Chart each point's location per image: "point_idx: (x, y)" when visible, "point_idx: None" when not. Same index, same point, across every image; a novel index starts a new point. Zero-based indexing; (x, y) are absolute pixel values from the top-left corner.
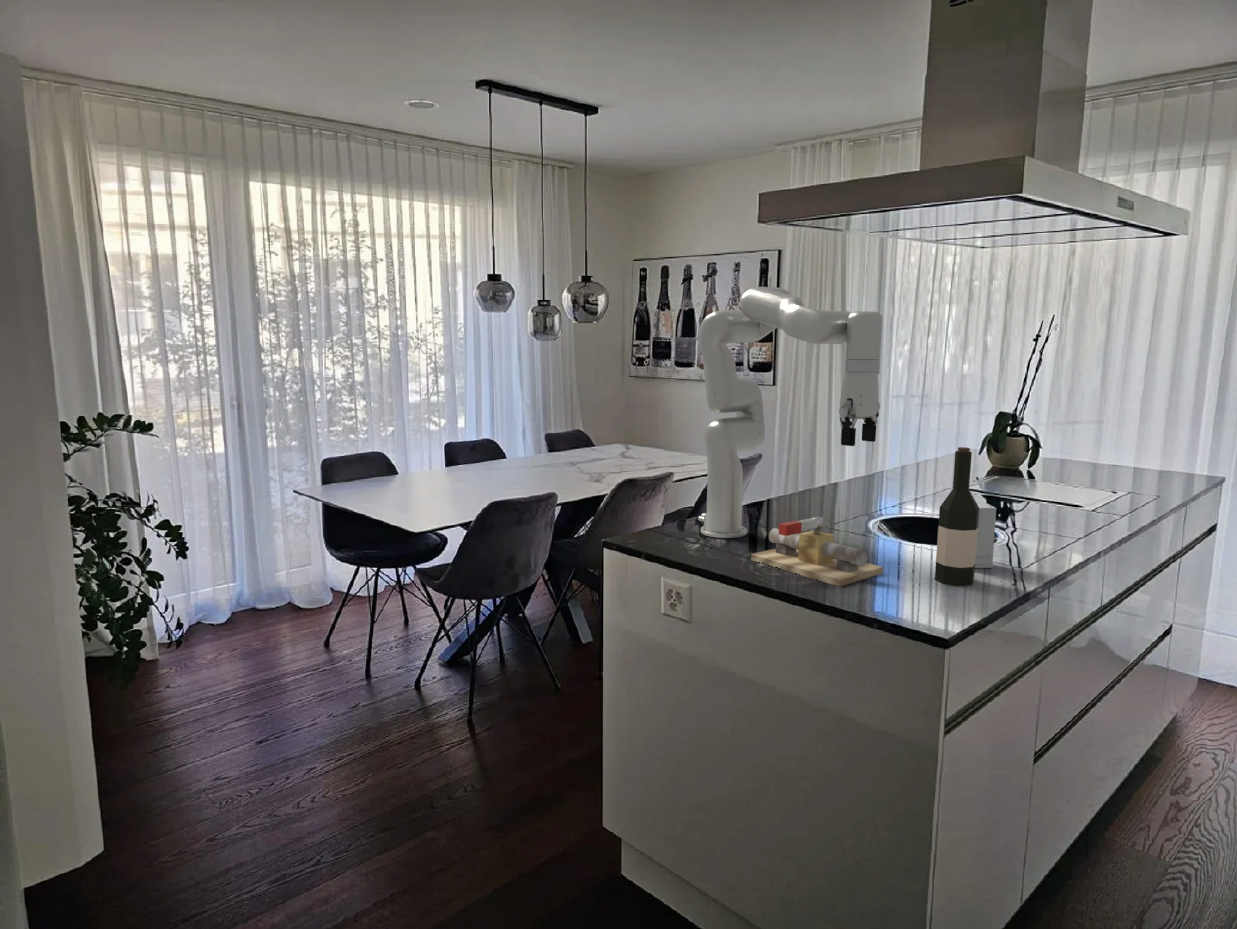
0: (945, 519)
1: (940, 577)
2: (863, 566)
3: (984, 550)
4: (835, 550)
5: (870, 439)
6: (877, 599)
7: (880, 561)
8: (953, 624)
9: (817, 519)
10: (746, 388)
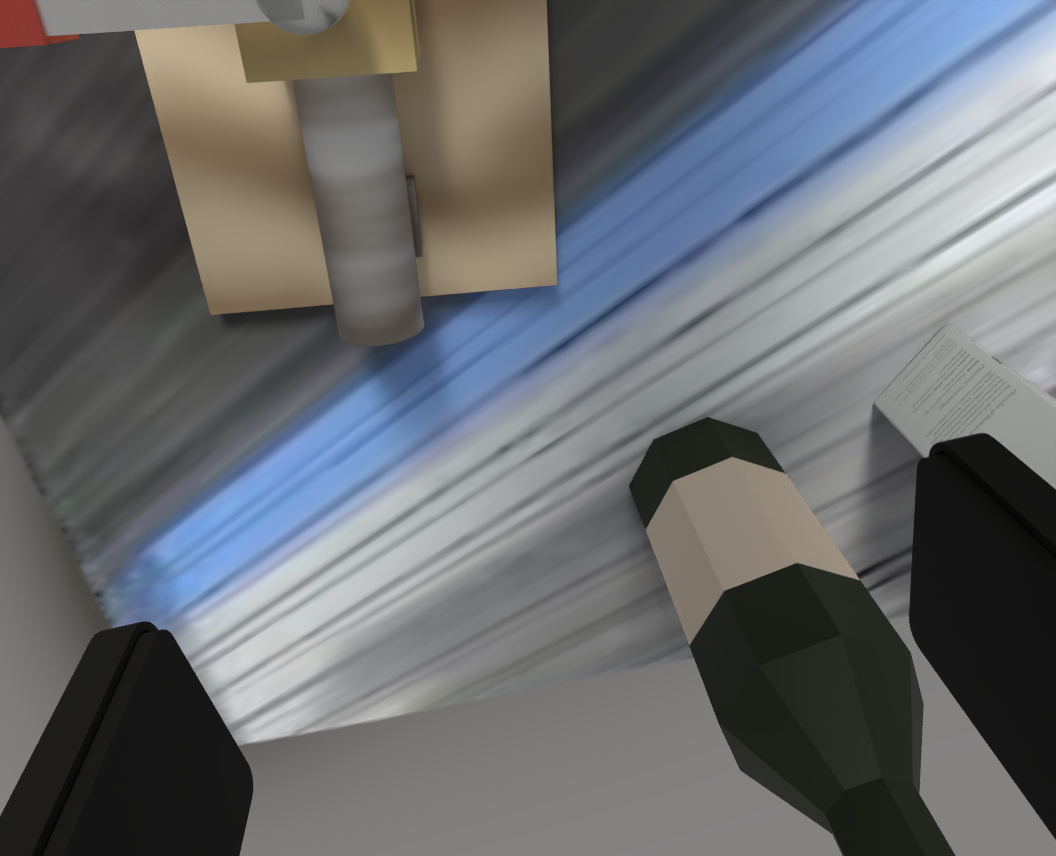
0: (711, 664)
1: (642, 480)
2: (484, 225)
3: None
4: (313, 186)
5: (928, 609)
6: (250, 481)
7: (728, 126)
8: (293, 711)
9: (266, 20)
10: None
